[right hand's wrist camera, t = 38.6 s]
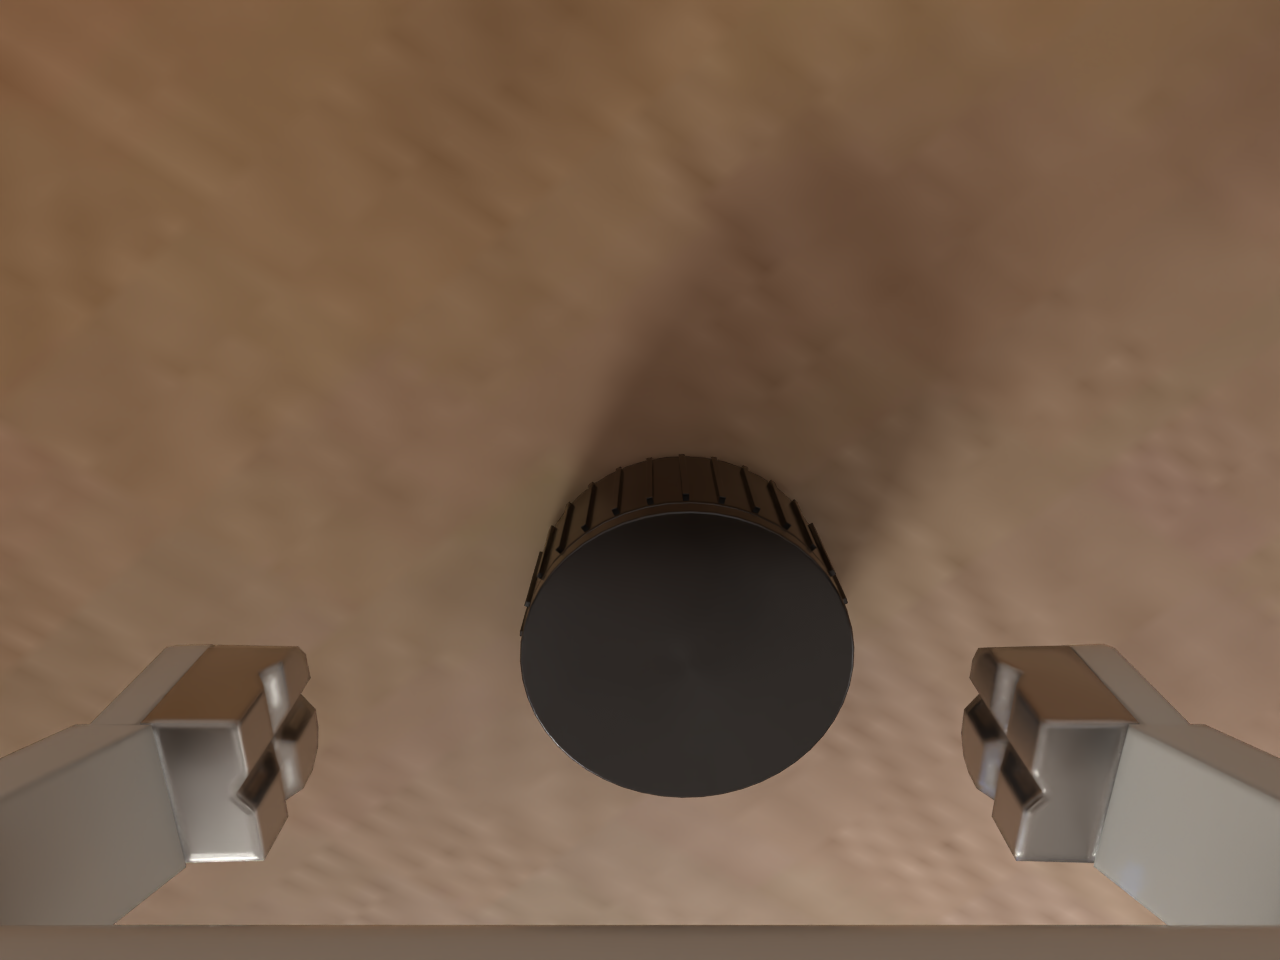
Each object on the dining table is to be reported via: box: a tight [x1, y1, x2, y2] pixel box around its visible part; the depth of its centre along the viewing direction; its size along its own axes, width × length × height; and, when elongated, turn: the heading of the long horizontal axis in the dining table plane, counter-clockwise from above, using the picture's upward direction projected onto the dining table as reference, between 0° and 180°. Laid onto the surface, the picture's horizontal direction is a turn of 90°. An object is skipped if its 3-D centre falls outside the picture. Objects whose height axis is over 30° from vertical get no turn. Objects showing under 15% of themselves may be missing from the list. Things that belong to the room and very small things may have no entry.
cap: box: [520, 454, 854, 798], centre depth 12 cm, size 5×5×2 cm
